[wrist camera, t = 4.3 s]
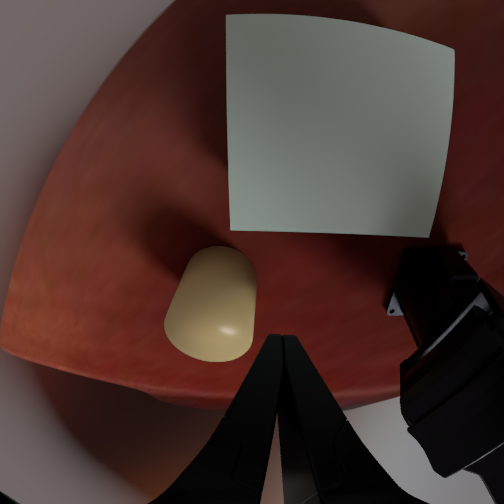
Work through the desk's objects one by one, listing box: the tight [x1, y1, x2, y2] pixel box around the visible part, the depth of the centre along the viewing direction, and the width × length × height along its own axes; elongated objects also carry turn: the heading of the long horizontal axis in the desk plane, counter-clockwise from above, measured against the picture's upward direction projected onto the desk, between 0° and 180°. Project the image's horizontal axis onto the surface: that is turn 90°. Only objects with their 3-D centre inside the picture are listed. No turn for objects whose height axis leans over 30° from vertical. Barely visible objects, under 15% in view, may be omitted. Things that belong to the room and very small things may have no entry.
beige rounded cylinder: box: [164, 246, 257, 362], centre depth 20 cm, size 6×6×6 cm
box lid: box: [226, 14, 454, 238], centre depth 12 cm, size 10×11×1 cm
